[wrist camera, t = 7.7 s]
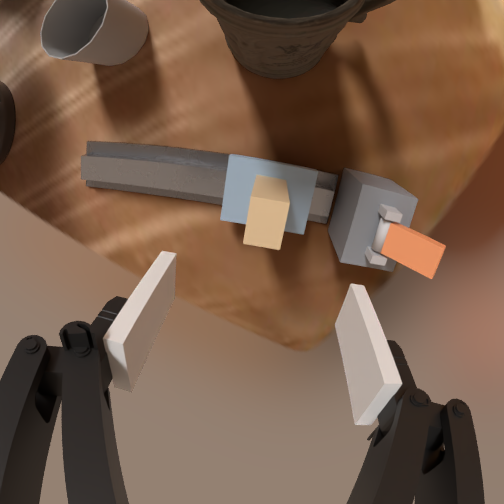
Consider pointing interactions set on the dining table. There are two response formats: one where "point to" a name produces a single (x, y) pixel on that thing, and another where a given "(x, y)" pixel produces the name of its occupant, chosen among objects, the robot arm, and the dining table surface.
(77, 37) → the cup
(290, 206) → the carriage
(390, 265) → the grey lever housing
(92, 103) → the dining table surface
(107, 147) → the rail
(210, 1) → the beer stein
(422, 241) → the switch lever
